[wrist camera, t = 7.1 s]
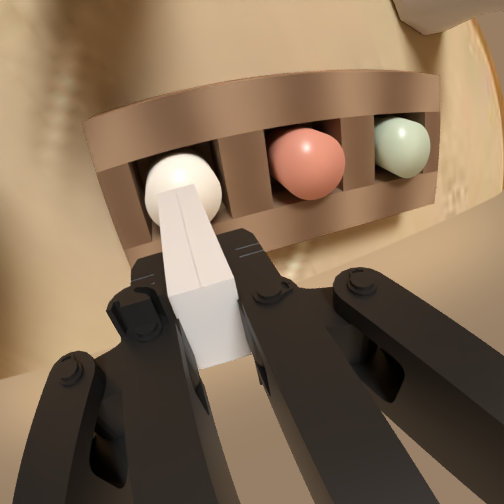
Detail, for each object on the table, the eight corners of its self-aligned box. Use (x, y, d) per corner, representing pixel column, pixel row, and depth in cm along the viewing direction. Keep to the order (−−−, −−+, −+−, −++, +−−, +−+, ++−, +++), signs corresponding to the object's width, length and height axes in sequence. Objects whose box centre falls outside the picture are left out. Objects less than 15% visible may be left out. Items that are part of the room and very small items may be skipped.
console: (140, 254, 21) (139, 287, 18) (96, 114, 16) (81, 122, 12) (403, 185, 25) (434, 203, 21) (402, 70, 19) (439, 75, 16)
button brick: (265, 186, 20) (285, 207, 17) (256, 128, 18) (278, 138, 15) (318, 174, 20) (346, 192, 18) (314, 119, 18) (343, 128, 15)
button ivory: (156, 215, 19) (157, 241, 16) (139, 156, 17) (135, 172, 14) (215, 198, 19) (227, 221, 16) (203, 139, 17) (213, 151, 14)
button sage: (358, 166, 21) (388, 182, 18) (356, 114, 19) (388, 123, 16) (397, 159, 22) (428, 174, 19) (397, 111, 19) (431, 120, 17)
